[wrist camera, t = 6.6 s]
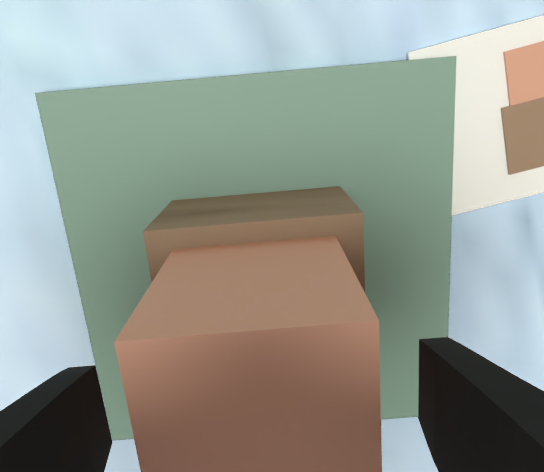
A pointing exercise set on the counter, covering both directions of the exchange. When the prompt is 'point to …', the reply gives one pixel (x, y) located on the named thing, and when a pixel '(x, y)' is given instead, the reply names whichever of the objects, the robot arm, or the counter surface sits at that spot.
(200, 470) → the terracotta brick
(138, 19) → the counter surface
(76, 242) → the plate
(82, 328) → the counter surface
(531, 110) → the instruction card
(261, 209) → the walnut brick
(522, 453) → the robot arm
